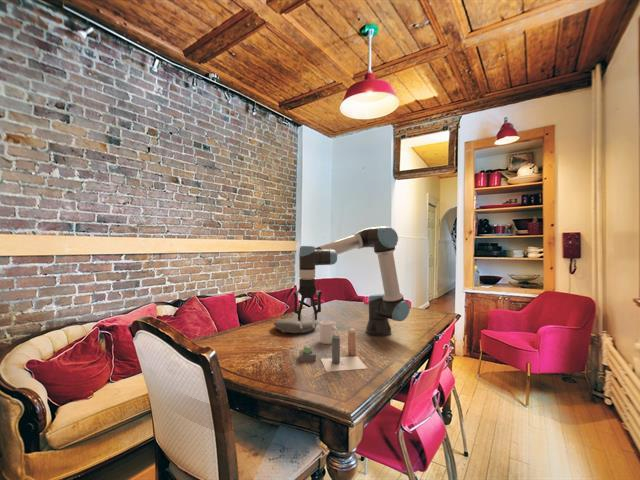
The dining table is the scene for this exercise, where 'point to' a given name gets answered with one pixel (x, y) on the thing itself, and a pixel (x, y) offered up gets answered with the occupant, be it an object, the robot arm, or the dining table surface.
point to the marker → (335, 349)
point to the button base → (307, 356)
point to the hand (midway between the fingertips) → (307, 327)
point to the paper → (343, 364)
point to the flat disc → (295, 325)
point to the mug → (327, 331)
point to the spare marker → (351, 342)
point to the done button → (307, 350)
